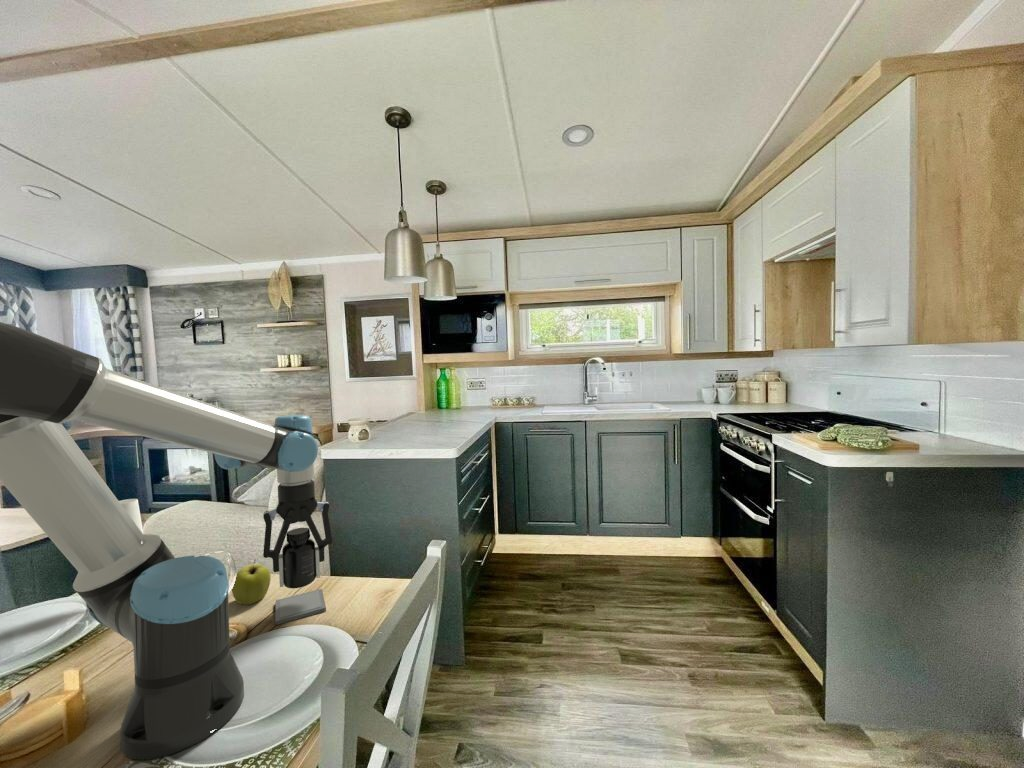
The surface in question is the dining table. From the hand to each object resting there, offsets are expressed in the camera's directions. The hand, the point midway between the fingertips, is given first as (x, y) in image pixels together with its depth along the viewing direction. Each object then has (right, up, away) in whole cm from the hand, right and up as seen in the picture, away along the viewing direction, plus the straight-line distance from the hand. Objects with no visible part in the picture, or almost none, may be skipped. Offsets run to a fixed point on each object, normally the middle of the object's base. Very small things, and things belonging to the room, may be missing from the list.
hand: (300, 579), depth 96 cm
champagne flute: (-46, -8, +7) cm, 48 cm away
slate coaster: (0, -6, 0) cm, 6 cm away
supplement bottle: (0, -1, 0) cm, 1 cm away
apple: (-14, -7, +4) cm, 16 cm away
